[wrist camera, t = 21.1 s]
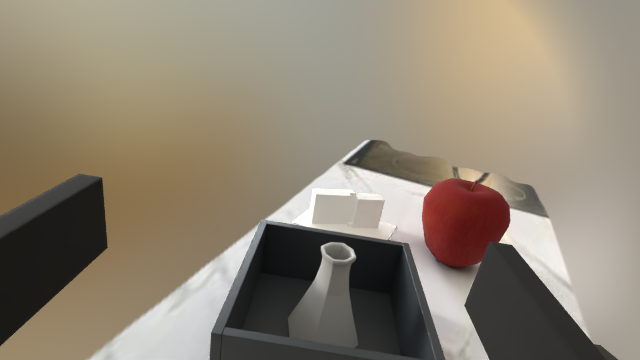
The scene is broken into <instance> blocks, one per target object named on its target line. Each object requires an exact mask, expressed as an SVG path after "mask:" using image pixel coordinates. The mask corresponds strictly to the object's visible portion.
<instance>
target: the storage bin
mask: <svg viewBox="0 0 640 360" xmlns="http://www.w3.org/2000/svg"><path fill="white" fill-rule="evenodd" d="M330 242H336V243H344V244H346V245H347V246H349V247H350V248H352V249H353V250H354V253H355V255H356V260H355V261H354V262H353V263H352V264H351V267H350V272H349V295H350V301H351V307H352V314H353V319H354V324H355V329H356V334H357V340H358V346H356V347H355V348H350V347H344V346H338V345H332V344H326V343H319V342H313V341H307V340H301V339H295V338H289V327H288V317H289V316H290V314H291V313H292V311H293V310H294V309H295V307H296V306H297V305H298V303H299V302H300V301H301V299H302V298H303V296H304V295H305V293H306V292H307V290H308V289H309V287H310V286H311V284H312V283H313V281H314V280H315V278H316V275H317V273H318V271H319V268H320V266H321V262H322V252H321V246H323V245H325V244H327V243H330ZM210 360H445V357H444V354H443V351H442V348H441V345H440V342H439V338H438V335H437V332H436V329H435V326H434V323H433V320H432V316H431V313H430V310H429V307H428V304H427V301H426V298H425V294H424V291H423V288H422V285H421V282H420V279H419V276H418V272H417V269H416V266H415V263H414V260H413V257H412V254H411V250H410V247H409V244H408V243H402V242H396V241H390V240H384V239H378V238H372V237H366V236H360V235H354V234H347V233H341V232H335V231H329V230H323V229H317V228H311V227H305V226H299V225H293V224H287V223H280V222H274V221H268V220H261V222H260V224H259V226H258V229H257V231H256V233H255V235H254V238H253V240H252V242H251V244H250V247H249V249H248V251H247V253H246V256H245V258H244V260H243V262H242V265H241V267H240V269H239V271H238V274H237V276H236V278H235V280H234V283H233V285H232V287H231V289H230V292H229V294H228V296H227V298H226V301H225V303H224V305H223V307H222V310H221V312H220V314H219V316H218V319H217V321H216V323H215V325H214V328H213V330H212V332H211V345H210Z"/></svg>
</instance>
